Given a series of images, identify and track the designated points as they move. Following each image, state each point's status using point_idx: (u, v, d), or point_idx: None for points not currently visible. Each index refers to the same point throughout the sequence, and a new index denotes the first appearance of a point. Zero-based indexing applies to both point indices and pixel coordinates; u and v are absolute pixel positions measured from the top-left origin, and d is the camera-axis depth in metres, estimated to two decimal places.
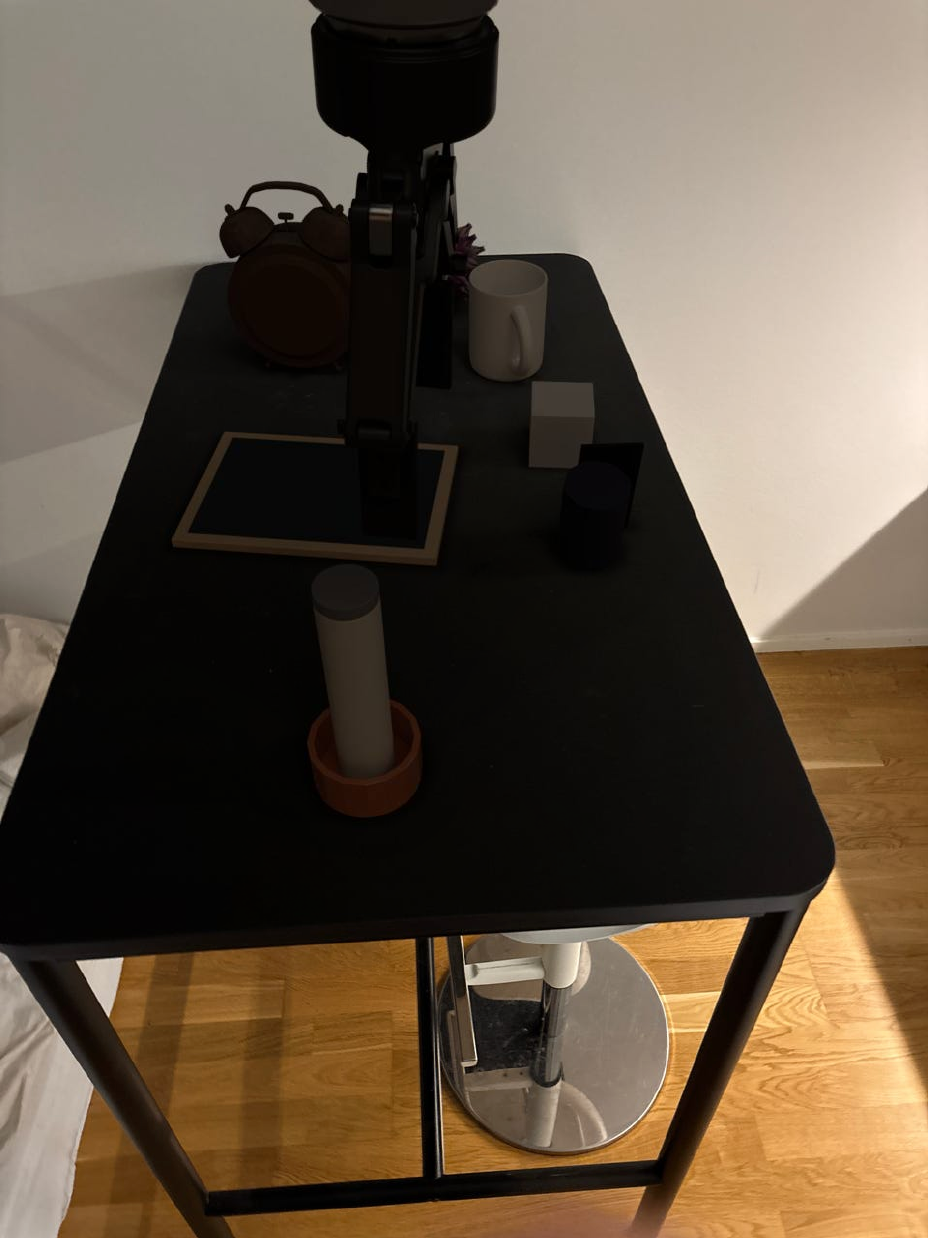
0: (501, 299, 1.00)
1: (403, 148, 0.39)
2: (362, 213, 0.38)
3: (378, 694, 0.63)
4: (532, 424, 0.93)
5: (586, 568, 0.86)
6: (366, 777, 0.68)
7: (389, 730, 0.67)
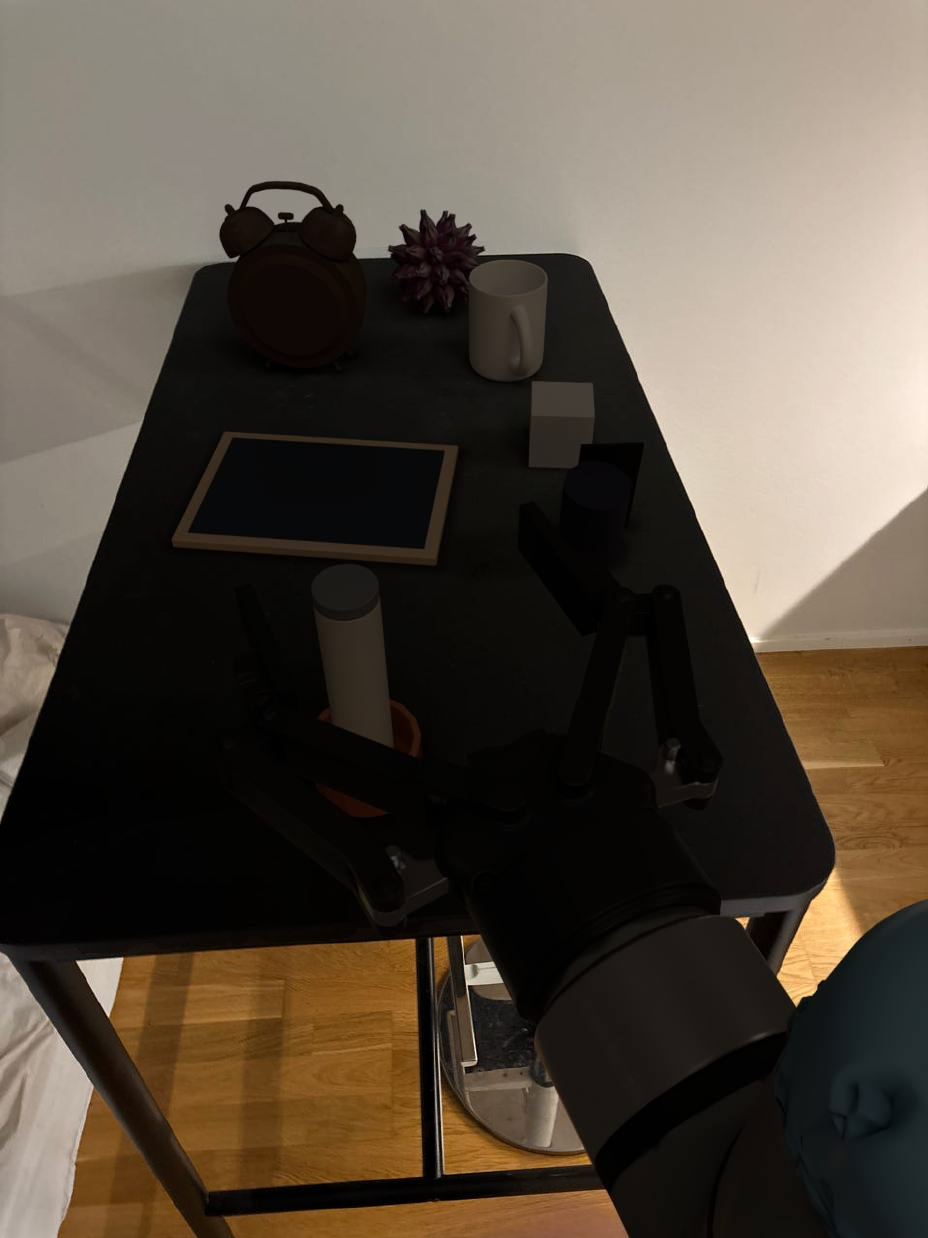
0: (501, 299, 1.00)
1: (475, 924, 0.33)
2: (375, 906, 0.32)
3: (378, 694, 0.63)
4: (532, 424, 0.93)
5: None
6: None
7: (389, 730, 0.67)
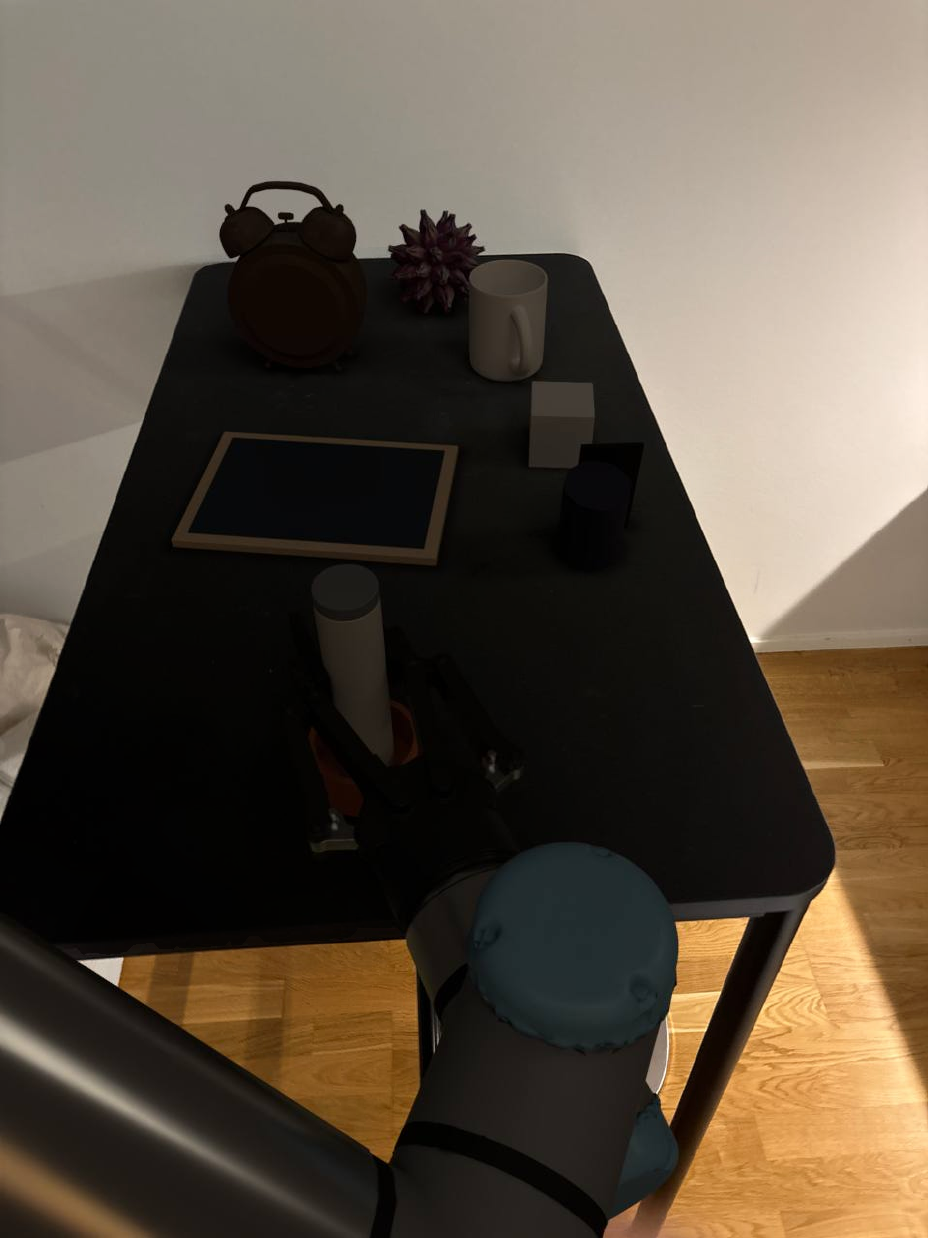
0: (501, 299, 1.00)
1: (377, 875, 0.53)
2: (307, 835, 0.54)
3: (378, 694, 0.63)
4: (532, 424, 0.93)
5: (586, 568, 0.86)
6: None
7: (389, 730, 0.67)
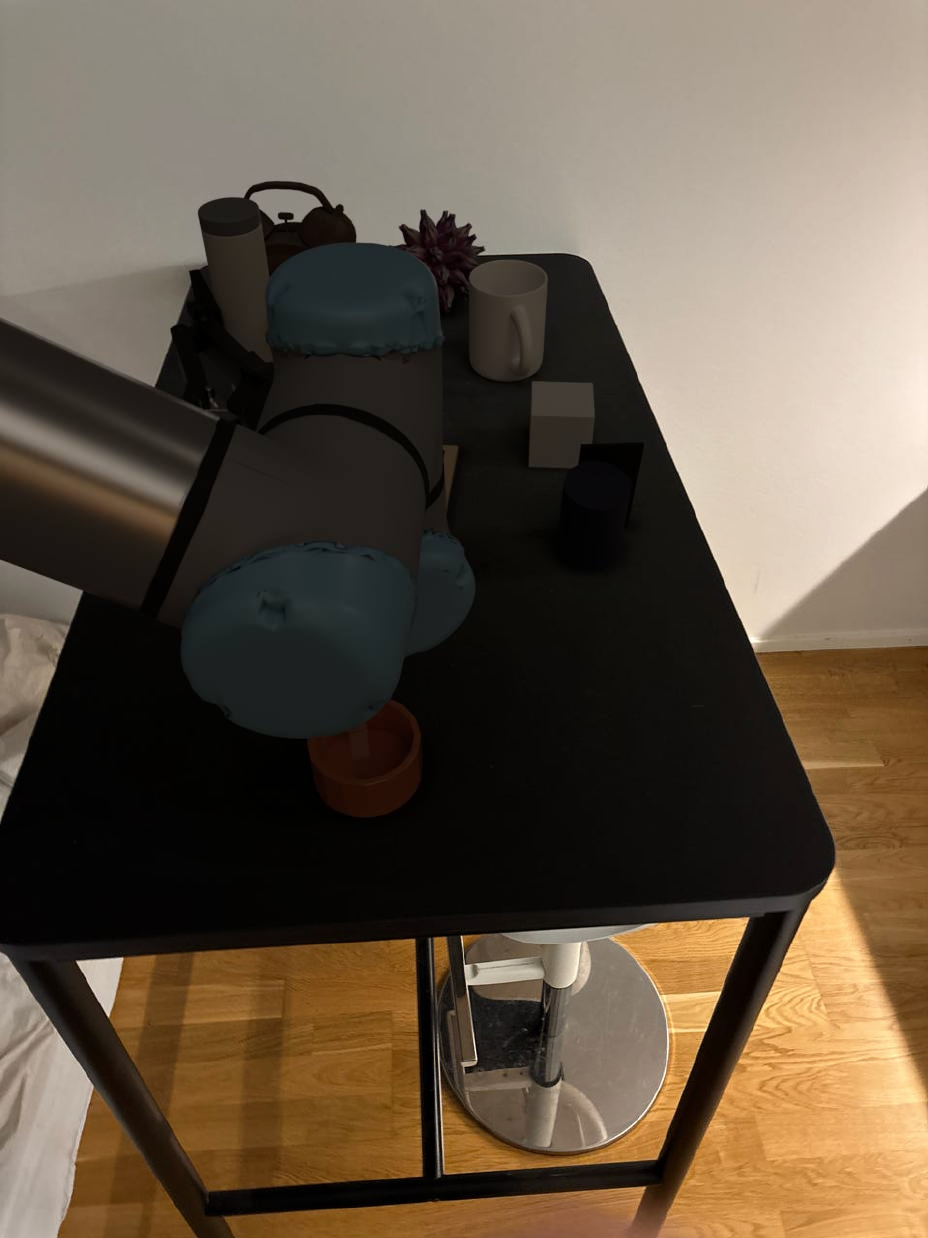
0: (501, 299, 1.00)
1: None
2: None
3: None
4: (532, 424, 0.93)
5: (586, 568, 0.86)
6: None
7: None
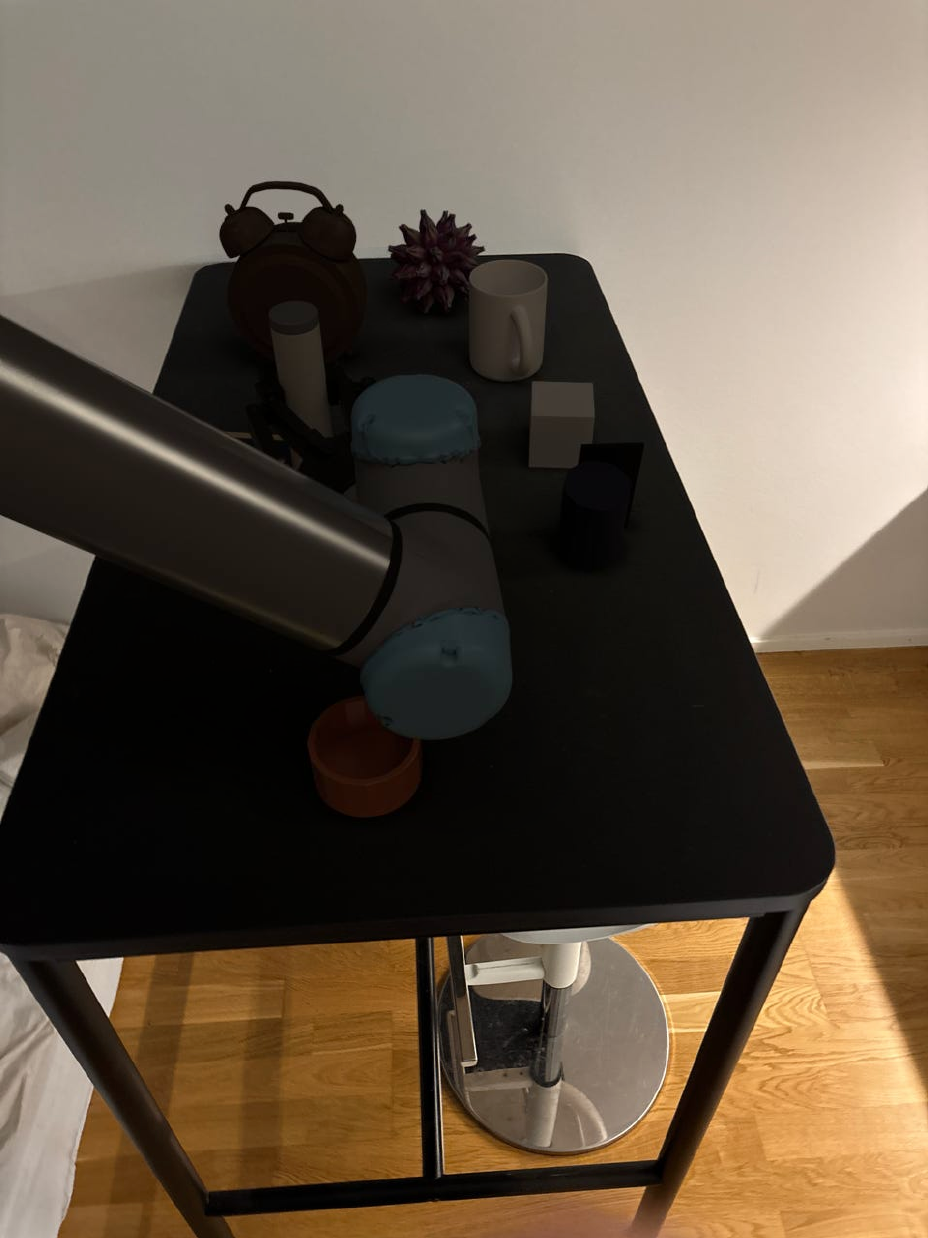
0: (501, 299, 1.00)
1: None
2: None
3: (321, 408, 0.85)
4: (532, 424, 0.93)
5: (586, 568, 0.86)
6: None
7: None
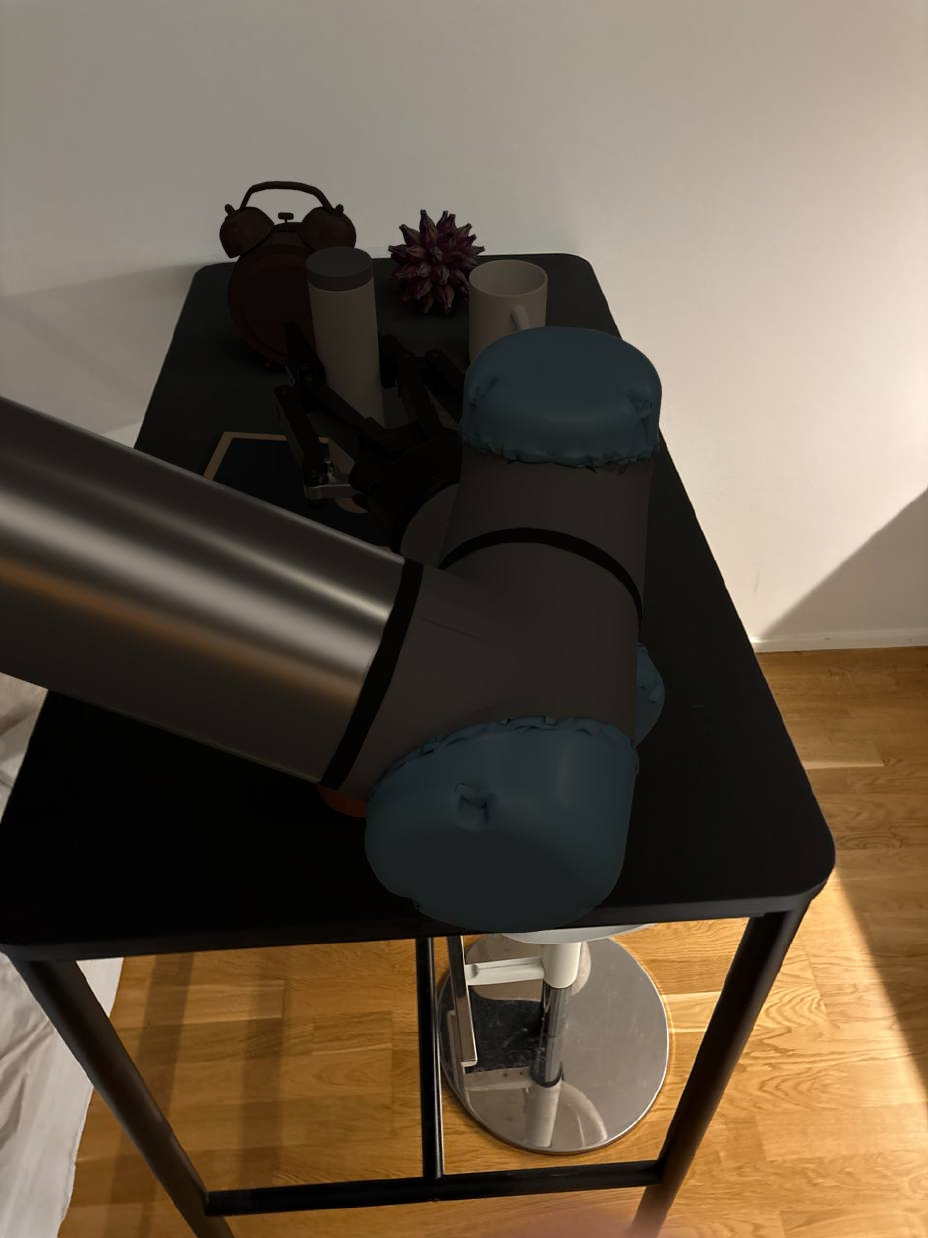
0: (501, 299, 1.00)
1: (372, 515, 0.55)
2: (303, 480, 0.55)
3: (372, 391, 0.64)
4: None
5: None
6: None
7: None
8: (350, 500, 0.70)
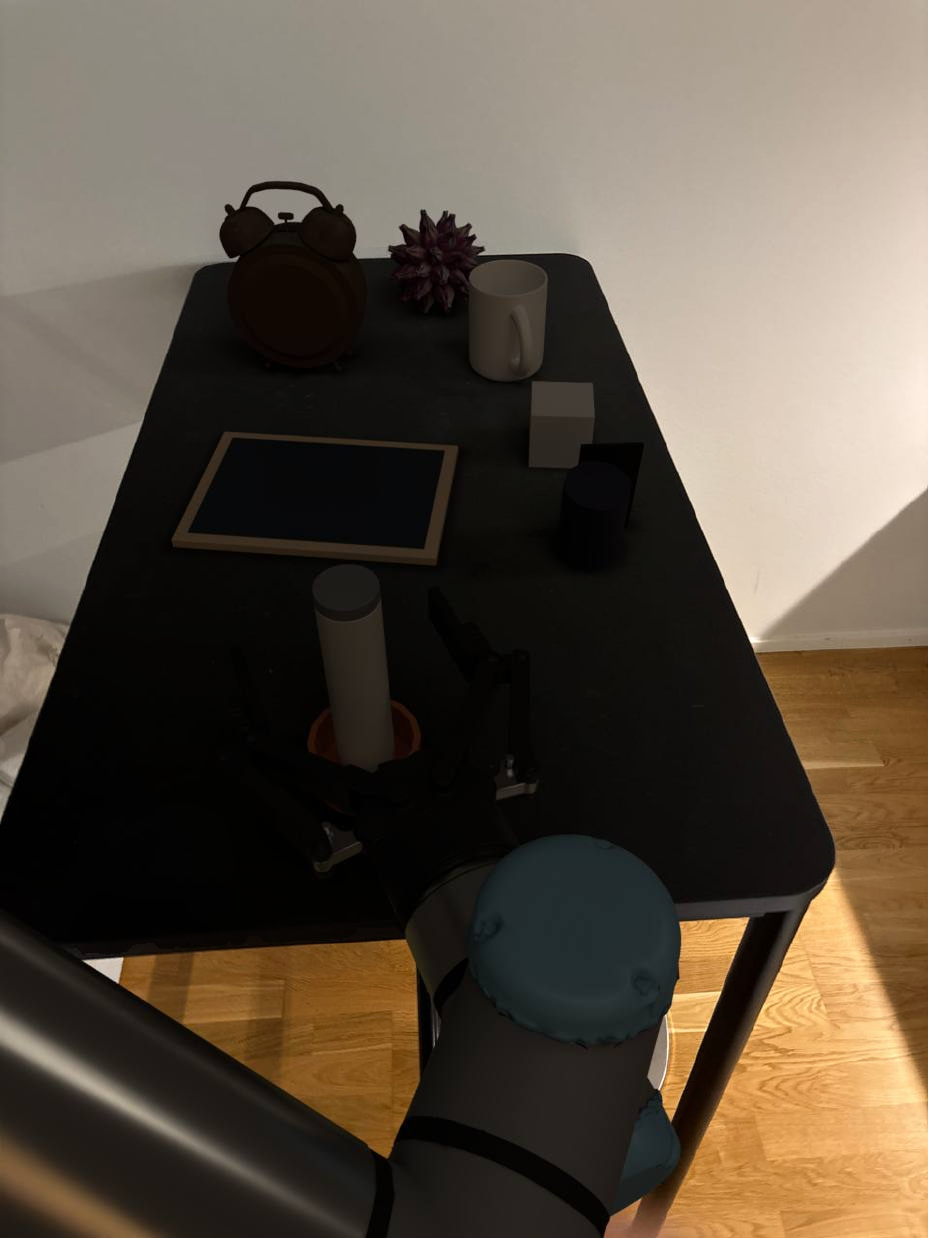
0: (501, 299, 1.00)
1: None
2: (313, 858, 0.52)
3: (379, 694, 0.63)
4: (532, 424, 0.93)
5: (586, 568, 0.86)
6: None
7: (390, 730, 0.67)
8: None
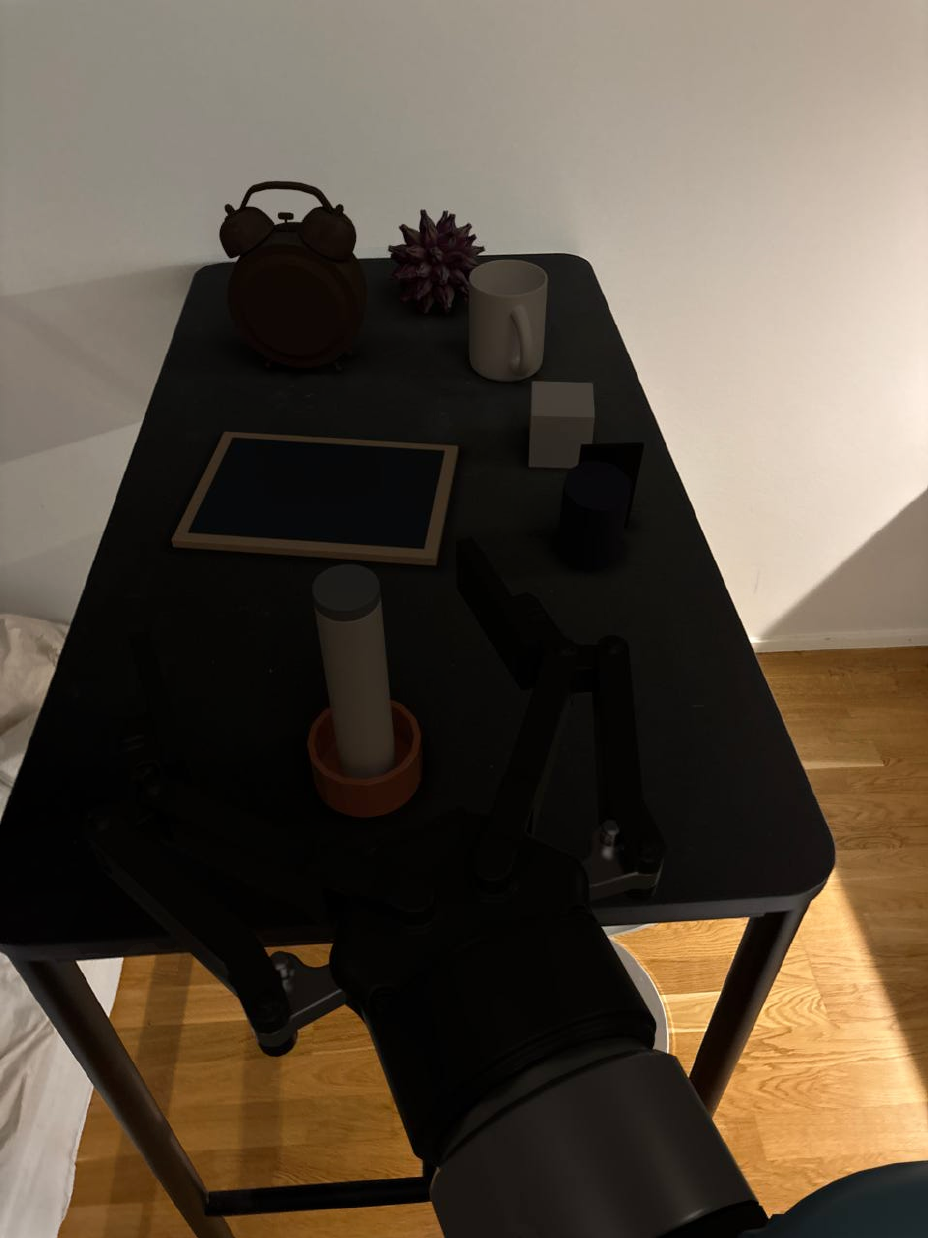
0: (501, 299, 1.00)
1: (373, 1044, 0.28)
2: (254, 1026, 0.28)
3: (379, 694, 0.63)
4: (532, 424, 0.93)
5: (586, 568, 0.86)
6: (367, 777, 0.68)
7: (390, 730, 0.67)
8: None
